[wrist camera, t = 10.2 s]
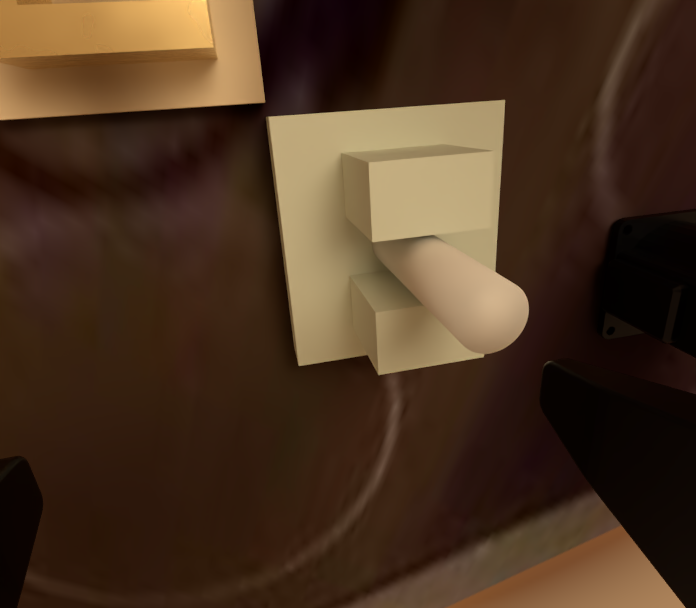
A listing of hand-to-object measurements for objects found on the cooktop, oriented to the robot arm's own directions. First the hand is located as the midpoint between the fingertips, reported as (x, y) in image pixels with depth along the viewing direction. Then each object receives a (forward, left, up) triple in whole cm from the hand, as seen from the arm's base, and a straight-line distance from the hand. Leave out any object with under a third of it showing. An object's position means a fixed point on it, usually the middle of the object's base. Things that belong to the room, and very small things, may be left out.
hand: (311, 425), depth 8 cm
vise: (-5, 0, -13) cm, 14 cm away
